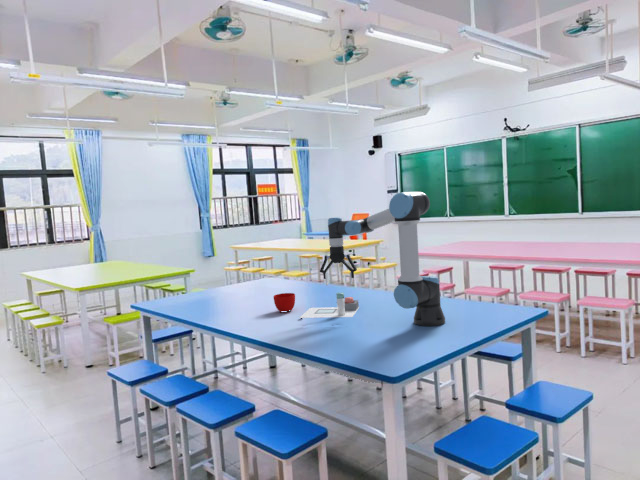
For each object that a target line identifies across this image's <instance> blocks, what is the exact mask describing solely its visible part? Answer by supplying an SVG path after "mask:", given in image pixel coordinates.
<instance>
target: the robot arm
mask: <svg viewBox="0 0 640 480" xmlns="http://www.w3.org/2000/svg"><path fill="white" fill-rule="evenodd" d="M430 200H431V199H430V198H429V196H428V195H427V194H426V193H424V192H422V191H419V190H418V191H403V192H398V193H396V194H394V195H393V196H392V197H391V199H390V200H389V205H388V208H386V209H384V210H381V211H380V212H377V213H374V214H372V215H370V216H367V217H364V218H361V219H353V220H342V217H341V216H338V217H330V218H328V219H327V228H328V230H327V231H328V241H329V242H328V243H329V255H328V254H326V255H324V258H323V259H324V260H323V262H322V264H321V267H320V269H319V273H322V275H323V276H322V277H323V280H325V286H328V285H329V275H328V270H329V269H330V267H331V266H333V263H334V264H343V265H344V266H345V268H347V270H348V271H349V282H350V283H349V284H350V286H351V285H353V284H354V283H353V279H354V278H355V272H356V271H357V270H358V269H357V267H356V264H354V263H355V262H353V260H352V258H351V254H350V253H348V254H345V247H344V238H343V237H344V236H356V235H359V234H365V233H368V234H369V233H371V232H374V231H375V230H377V229H380V228H382V227H385V226H388V225H390V224H393V223H396V225H397V227H398V229H397V230H398V245H399V262H400V263H399V265H400V276H399V277H398V278H397V285H396V287H395V288H394V290H393V296H394V301H395V302H396V303H397V304H398V306H399V307H401V308H403V309H408V310H409V309H414V308H415V312H414V315H413V324H415V325H417V326H421V327H435V326H436V327H437V326H441V325H444V324H445V323H446V317H445V314H444V311H443V308H442V306H441V291H440V290H441V288H440V285H441V283H440V279H439V277H437V276H433V275H432V276H431V275H420V259H419V239H418V238H419V237H418V224H419V222H420V221H421V216H422V215H425V214H426V213H427V212H428V210H429V209H430V207H431V202H430ZM345 258H346V259H347V261H348V262H349V263H348V262H347V261H346V260H345ZM329 259H330V261H329V263H328V264H327V262H328V260H329ZM349 264H350V265H349ZM326 265H327V266H326ZM325 266H326V267H325Z"/></svg>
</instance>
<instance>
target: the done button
mask: <svg viewBox="0 0 640 480" xmlns="http://www.w3.org/2000/svg"><path fill="white" fill-rule="evenodd" d="M353 300H354V297H353V296H346V297H344V301H345V303H354V301H353Z"/></svg>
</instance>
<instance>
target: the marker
mask: <svg viewBox="0 0 640 480" xmlns="http://www.w3.org/2000/svg"><path fill="white" fill-rule="evenodd" d="M335 295H336V296H335V297H336V307H337V308H338V315H339V316H343V315H345V304H344V301H345V292H336V294H335Z"/></svg>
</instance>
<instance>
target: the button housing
mask: <svg viewBox="0 0 640 480" xmlns="http://www.w3.org/2000/svg"><path fill="white" fill-rule="evenodd" d="M353 301H354V303H345V300H344V304H345V311H356V310H357V309H358V307H359V308H360V305H359V299H357V300H356V299H353ZM358 310H359V309H358ZM358 310H357V311H358ZM357 311H356V312H357Z"/></svg>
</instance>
